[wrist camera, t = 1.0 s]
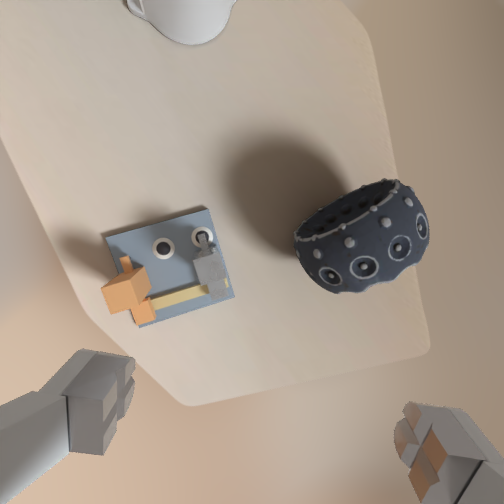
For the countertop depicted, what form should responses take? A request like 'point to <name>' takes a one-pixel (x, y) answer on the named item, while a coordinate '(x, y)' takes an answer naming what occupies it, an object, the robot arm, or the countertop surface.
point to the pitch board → (170, 262)
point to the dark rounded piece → (363, 237)
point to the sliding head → (130, 293)
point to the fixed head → (210, 269)
